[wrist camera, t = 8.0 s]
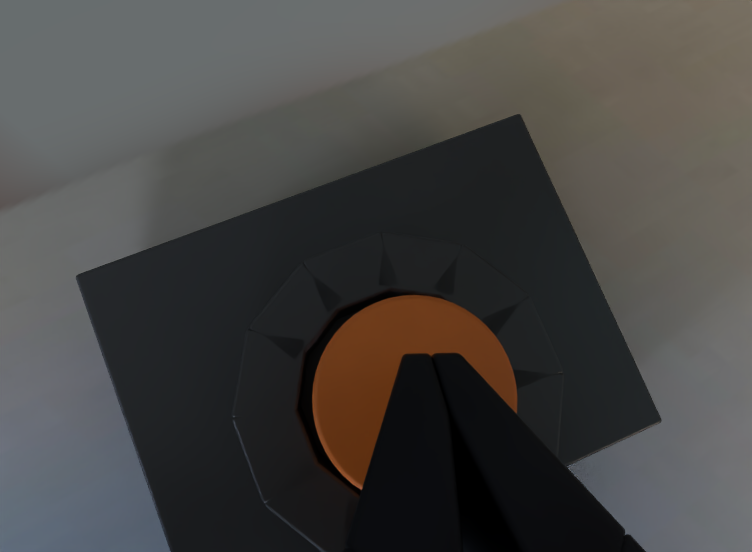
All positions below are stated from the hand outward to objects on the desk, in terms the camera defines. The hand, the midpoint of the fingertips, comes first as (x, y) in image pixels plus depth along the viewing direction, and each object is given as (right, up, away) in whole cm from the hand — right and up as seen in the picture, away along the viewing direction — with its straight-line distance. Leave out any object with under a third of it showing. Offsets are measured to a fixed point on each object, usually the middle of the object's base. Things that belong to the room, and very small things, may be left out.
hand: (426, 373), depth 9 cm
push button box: (-1, -1, +9) cm, 9 cm away
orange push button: (0, -1, +3) cm, 3 cm away
